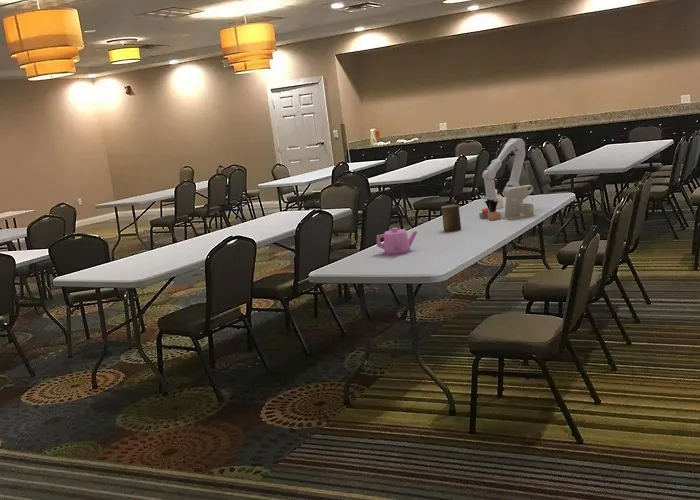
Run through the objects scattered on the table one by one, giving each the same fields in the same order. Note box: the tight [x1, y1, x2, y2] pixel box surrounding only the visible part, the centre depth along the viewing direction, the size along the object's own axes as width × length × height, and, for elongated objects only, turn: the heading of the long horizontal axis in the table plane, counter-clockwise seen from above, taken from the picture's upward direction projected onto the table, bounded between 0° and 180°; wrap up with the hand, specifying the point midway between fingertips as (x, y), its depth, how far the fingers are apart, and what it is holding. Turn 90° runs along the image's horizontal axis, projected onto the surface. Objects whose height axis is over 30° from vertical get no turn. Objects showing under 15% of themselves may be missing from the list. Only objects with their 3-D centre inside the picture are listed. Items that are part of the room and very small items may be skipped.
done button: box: [481, 207, 489, 214], centre depth 430 cm, size 3×3×3 cm
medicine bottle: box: [495, 188, 504, 210], centre depth 462 cm, size 7×7×12 cm
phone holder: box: [501, 184, 535, 221], centre depth 417 cm, size 17×10×18 cm, turn 107°
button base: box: [478, 211, 490, 220], centre depth 430 cm, size 6×6×3 cm
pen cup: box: [487, 211, 502, 221], centre depth 421 cm, size 6×6×4 cm
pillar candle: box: [440, 204, 462, 232], centre depth 404 cm, size 10×10×15 cm
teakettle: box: [376, 227, 418, 256], centre depth 363 cm, size 17×17×12 cm
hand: (492, 212), depth 435 cm, fingers closed on marker, 3 cm apart
